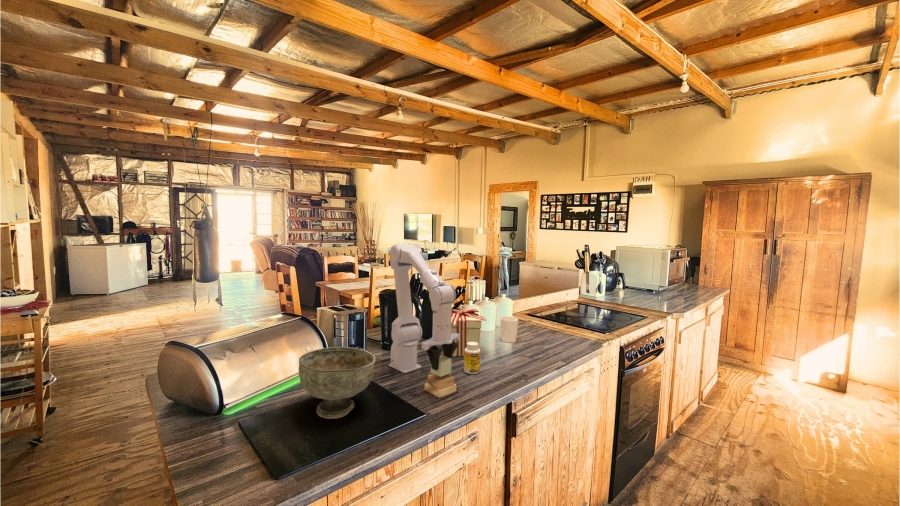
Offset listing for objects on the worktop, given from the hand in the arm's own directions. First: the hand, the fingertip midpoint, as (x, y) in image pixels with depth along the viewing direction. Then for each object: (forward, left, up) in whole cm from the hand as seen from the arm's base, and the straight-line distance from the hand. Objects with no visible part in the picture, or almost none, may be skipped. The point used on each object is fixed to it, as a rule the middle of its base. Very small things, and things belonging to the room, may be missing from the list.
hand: (440, 367), depth 115 cm
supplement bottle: (-3, +18, -8) cm, 20 cm away
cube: (0, 0, -2) cm, 2 cm away
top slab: (0, 0, -5) cm, 5 cm away
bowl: (-11, -29, -8) cm, 32 cm away
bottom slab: (0, 0, -8) cm, 8 cm away
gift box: (-19, +30, -8) cm, 36 cm away
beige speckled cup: (-15, +56, -8) cm, 58 cm away
